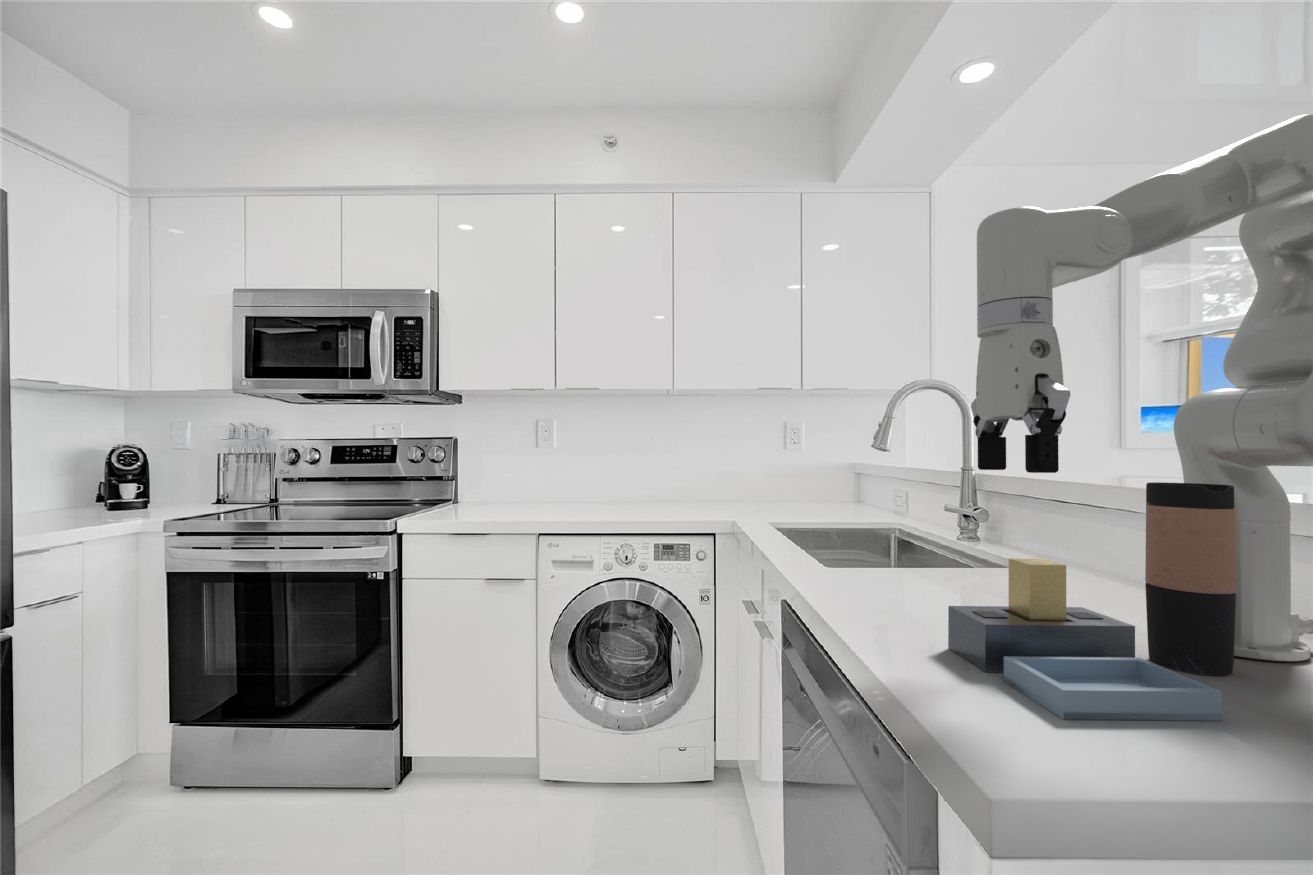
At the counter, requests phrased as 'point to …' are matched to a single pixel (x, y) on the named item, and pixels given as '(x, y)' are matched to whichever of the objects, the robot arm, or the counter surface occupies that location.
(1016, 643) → the grey slotted block
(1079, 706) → the parts tray
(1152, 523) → the travel mug
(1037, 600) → the brushed brass bar
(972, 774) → the counter surface
